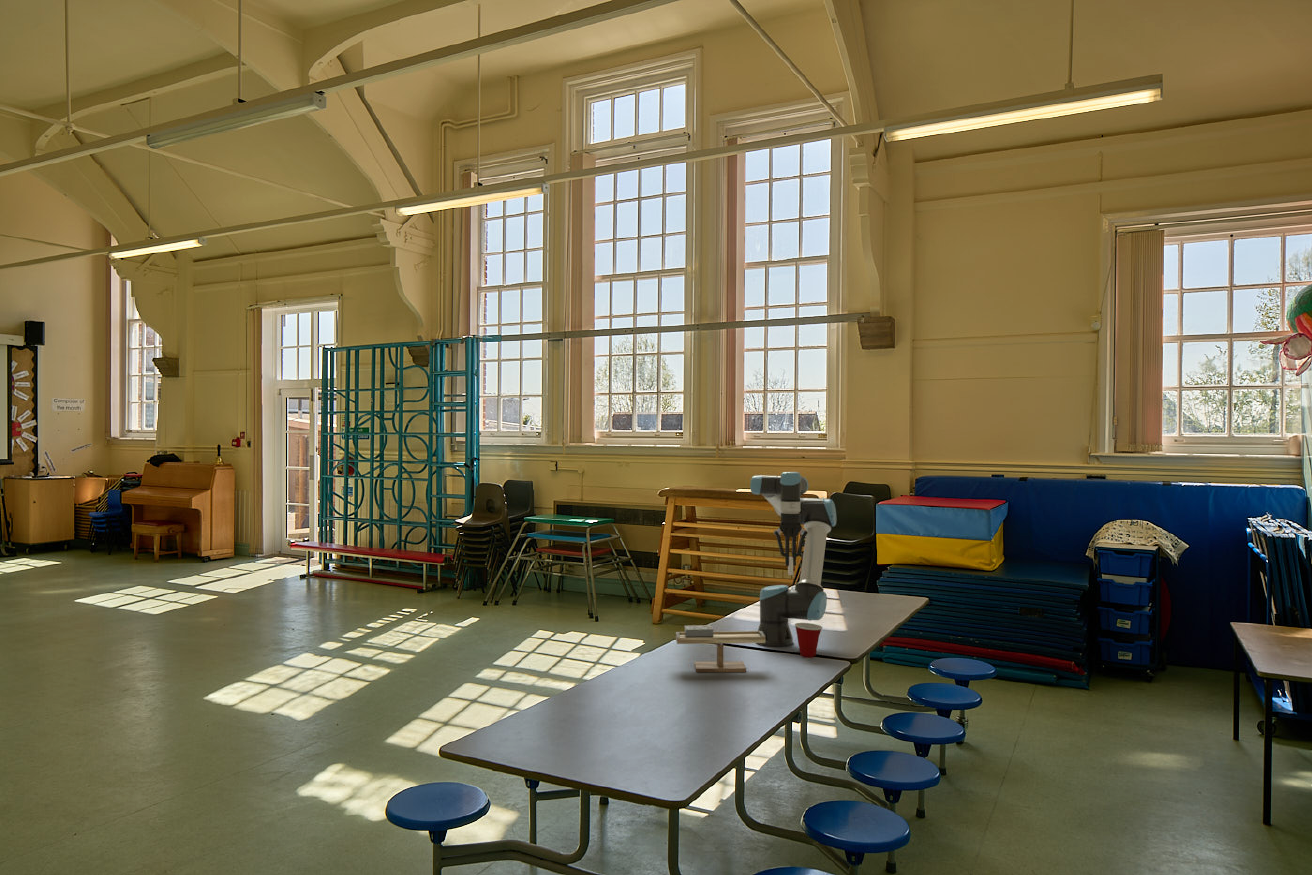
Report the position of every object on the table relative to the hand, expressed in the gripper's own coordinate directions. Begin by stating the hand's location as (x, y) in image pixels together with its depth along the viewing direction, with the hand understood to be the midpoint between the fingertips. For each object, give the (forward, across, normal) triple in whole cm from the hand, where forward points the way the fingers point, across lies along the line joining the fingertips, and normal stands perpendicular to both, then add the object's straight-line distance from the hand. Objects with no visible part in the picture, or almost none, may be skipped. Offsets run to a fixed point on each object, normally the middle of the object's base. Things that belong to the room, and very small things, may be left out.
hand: (790, 574), depth 334 cm
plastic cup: (+33, +8, +6) cm, 34 cm away
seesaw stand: (+32, -28, -12) cm, 44 cm away
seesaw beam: (+22, -28, -12) cm, 38 cm away
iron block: (+21, -36, -12) cm, 43 cm away
